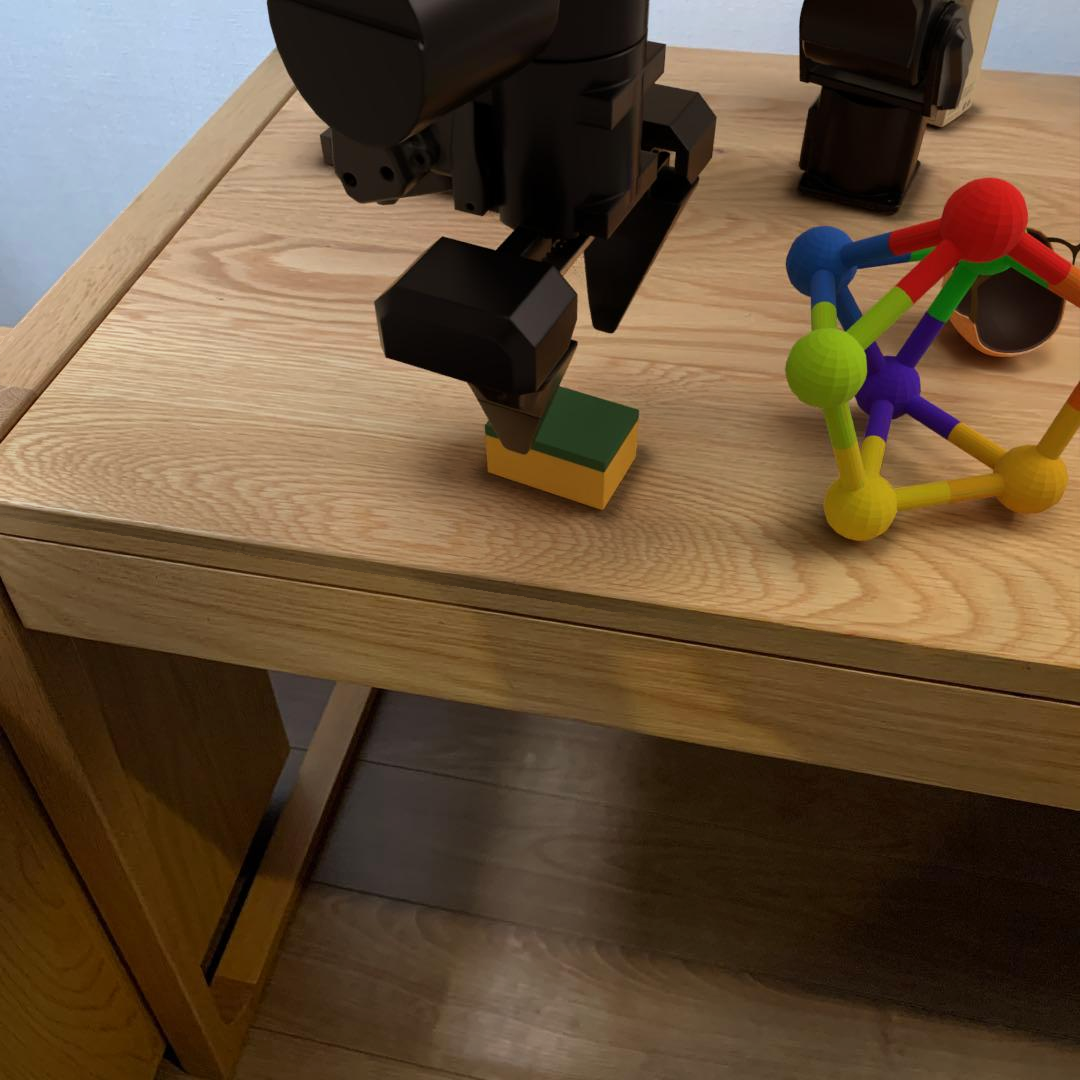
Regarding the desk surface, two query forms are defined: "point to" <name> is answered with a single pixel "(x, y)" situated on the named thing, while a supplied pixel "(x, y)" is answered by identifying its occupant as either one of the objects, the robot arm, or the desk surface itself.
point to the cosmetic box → (981, 16)
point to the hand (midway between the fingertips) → (563, 386)
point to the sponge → (573, 449)
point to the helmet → (1010, 309)
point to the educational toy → (918, 355)
